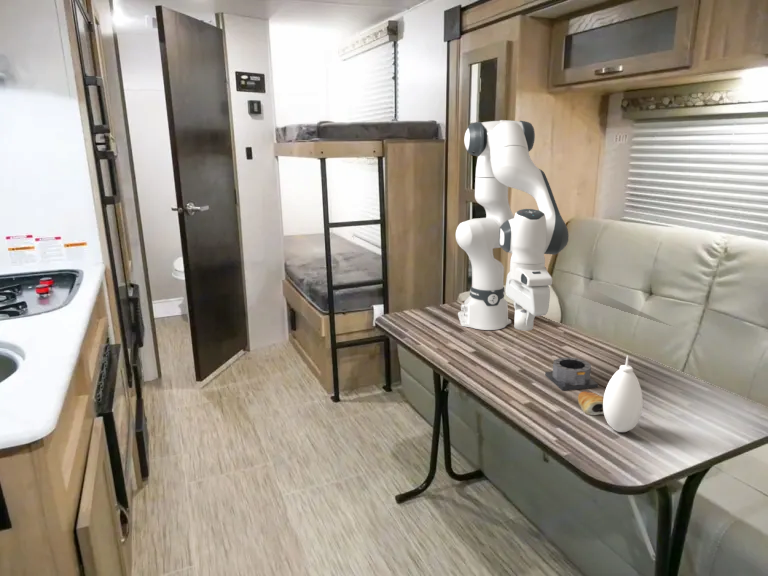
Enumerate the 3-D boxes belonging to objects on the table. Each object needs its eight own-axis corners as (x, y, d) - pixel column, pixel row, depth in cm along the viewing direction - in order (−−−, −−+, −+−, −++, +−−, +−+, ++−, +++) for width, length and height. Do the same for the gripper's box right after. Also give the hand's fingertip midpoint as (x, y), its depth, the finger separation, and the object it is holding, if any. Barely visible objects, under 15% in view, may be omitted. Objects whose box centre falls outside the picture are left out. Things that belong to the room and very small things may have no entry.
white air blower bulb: (628, 420, 120) (636, 348, 116) (645, 438, 113) (655, 361, 108) (595, 422, 120) (601, 349, 116) (610, 440, 113) (618, 362, 108)
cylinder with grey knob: (511, 325, 144) (512, 308, 142) (528, 324, 144) (529, 308, 143) (518, 331, 139) (519, 314, 138) (536, 330, 139) (537, 313, 138)
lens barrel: (545, 375, 146) (546, 358, 145) (578, 372, 147) (579, 355, 146) (562, 390, 136) (563, 373, 135) (597, 387, 138) (599, 370, 136)
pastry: (570, 398, 132) (572, 385, 131) (597, 398, 132) (598, 384, 131) (585, 416, 123) (586, 402, 122) (613, 416, 123) (615, 401, 122)
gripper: (501, 264, 147) (498, 310, 150) (531, 281, 127) (528, 334, 131) (522, 263, 148) (519, 309, 151) (555, 280, 128) (551, 333, 132)
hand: (523, 321), depth 141 cm, fingers closed on cylinder with grey knob, 5 cm apart
